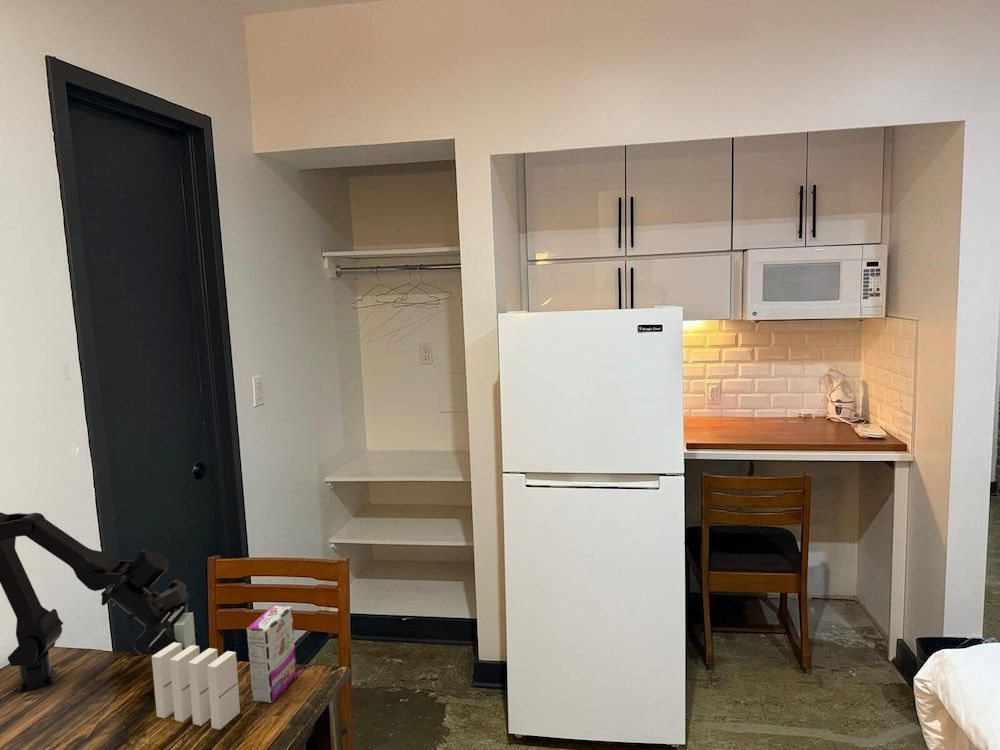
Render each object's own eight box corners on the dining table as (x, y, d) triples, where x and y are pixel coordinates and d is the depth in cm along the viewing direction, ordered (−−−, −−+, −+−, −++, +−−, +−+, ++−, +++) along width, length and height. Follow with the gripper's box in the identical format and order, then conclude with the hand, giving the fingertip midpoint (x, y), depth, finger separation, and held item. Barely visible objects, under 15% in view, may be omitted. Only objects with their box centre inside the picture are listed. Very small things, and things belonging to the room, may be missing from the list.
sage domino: (178, 680, 157) (173, 625, 155) (188, 666, 163) (183, 612, 161) (187, 680, 157) (183, 624, 155) (197, 666, 163) (193, 612, 161)
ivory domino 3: (192, 724, 141) (187, 662, 139) (213, 707, 146) (209, 647, 145) (201, 725, 140) (196, 664, 139) (221, 708, 146) (217, 649, 144)
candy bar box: (277, 673, 159) (272, 604, 157) (297, 675, 158) (293, 605, 156) (250, 702, 148) (245, 627, 146) (272, 704, 147) (267, 629, 145)
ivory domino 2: (174, 720, 142) (169, 659, 141) (196, 703, 148) (191, 644, 146) (183, 722, 142) (177, 660, 140) (204, 705, 147) (199, 646, 146)
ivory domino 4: (211, 727, 139) (206, 665, 138) (231, 710, 145) (227, 650, 143) (220, 729, 139) (215, 667, 137) (240, 712, 144) (235, 652, 143)
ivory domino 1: (156, 716, 144) (151, 656, 142) (178, 700, 149) (173, 642, 148) (164, 718, 143) (159, 657, 141) (186, 701, 149) (181, 643, 147)
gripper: (143, 593, 148) (201, 640, 150) (177, 559, 166) (229, 601, 168) (108, 631, 148) (166, 677, 150) (146, 593, 166) (197, 635, 168)
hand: (192, 645), depth 159 cm, fingers open, 7 cm apart
